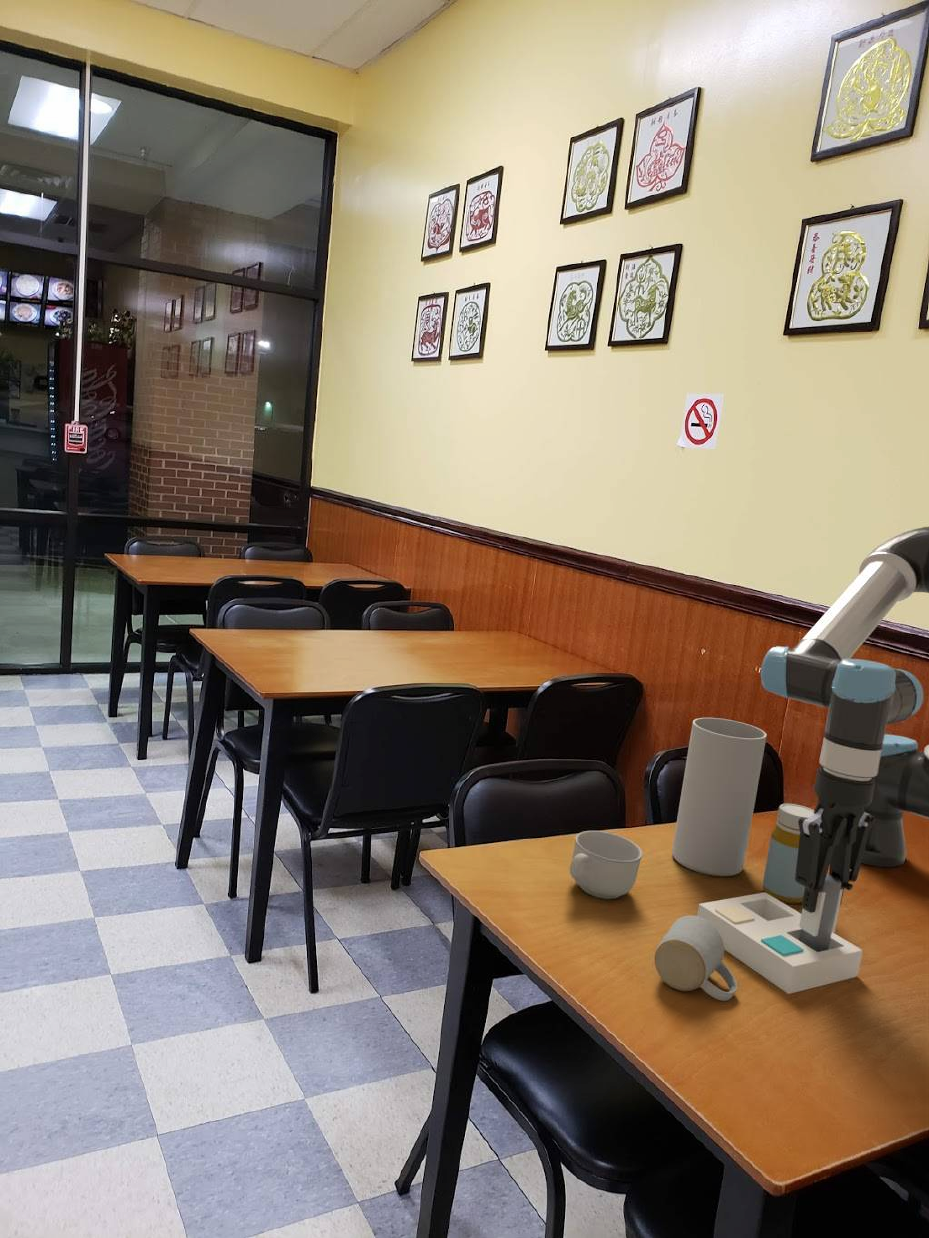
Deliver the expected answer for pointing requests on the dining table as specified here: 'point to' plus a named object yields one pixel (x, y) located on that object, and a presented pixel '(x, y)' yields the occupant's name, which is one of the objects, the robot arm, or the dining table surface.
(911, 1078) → the dining table surface
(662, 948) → the ceramic mug
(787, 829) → the bottle
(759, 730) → the cylinder vase
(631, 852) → the teacup
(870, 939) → the dining table surface
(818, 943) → the plug
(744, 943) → the socket block
